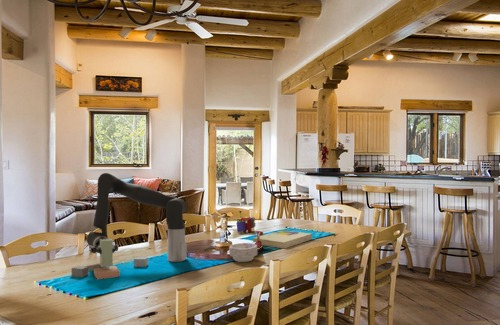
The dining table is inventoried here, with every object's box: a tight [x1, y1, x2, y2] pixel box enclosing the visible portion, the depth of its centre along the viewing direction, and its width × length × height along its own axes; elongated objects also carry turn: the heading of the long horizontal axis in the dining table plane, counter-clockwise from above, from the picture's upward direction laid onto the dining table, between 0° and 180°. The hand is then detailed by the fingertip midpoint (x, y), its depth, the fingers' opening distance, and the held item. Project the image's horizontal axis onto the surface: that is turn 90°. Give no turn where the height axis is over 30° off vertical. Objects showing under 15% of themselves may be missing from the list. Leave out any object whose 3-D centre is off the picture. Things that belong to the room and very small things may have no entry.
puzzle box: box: [252, 230, 313, 249], centre depth 273 cm, size 36×5×24 cm
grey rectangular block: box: [71, 265, 89, 278], centre depth 194 cm, size 6×4×4 cm, turn 73°
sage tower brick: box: [99, 237, 114, 268], centre depth 195 cm, size 5×5×12 cm
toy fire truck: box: [255, 231, 264, 248], centre depth 252 cm, size 3×14×10 cm, turn 168°
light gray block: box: [133, 256, 149, 268], centre depth 212 cm, size 6×4×4 cm, turn 86°
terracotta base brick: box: [93, 265, 121, 280], centre depth 195 cm, size 10×10×3 cm
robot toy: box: [236, 210, 257, 234], centre depth 309 cm, size 17×9×20 cm
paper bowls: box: [228, 242, 258, 263], centre depth 223 cm, size 15×15×8 cm
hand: (107, 251), depth 192 cm, fingers closed on sage tower brick, 5 cm apart
